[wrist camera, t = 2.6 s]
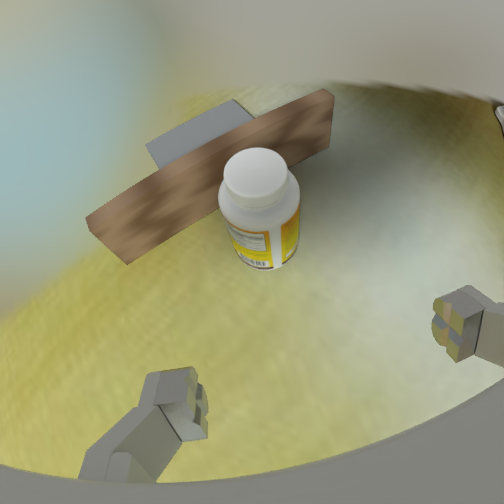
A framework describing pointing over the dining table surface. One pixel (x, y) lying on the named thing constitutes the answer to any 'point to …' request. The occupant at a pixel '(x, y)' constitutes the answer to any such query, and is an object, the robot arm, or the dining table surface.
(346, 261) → the dining table surface
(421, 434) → the robot arm
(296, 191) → the supplement bottle
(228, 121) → the grey mat
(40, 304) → the dining table surface
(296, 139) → the walnut screen
